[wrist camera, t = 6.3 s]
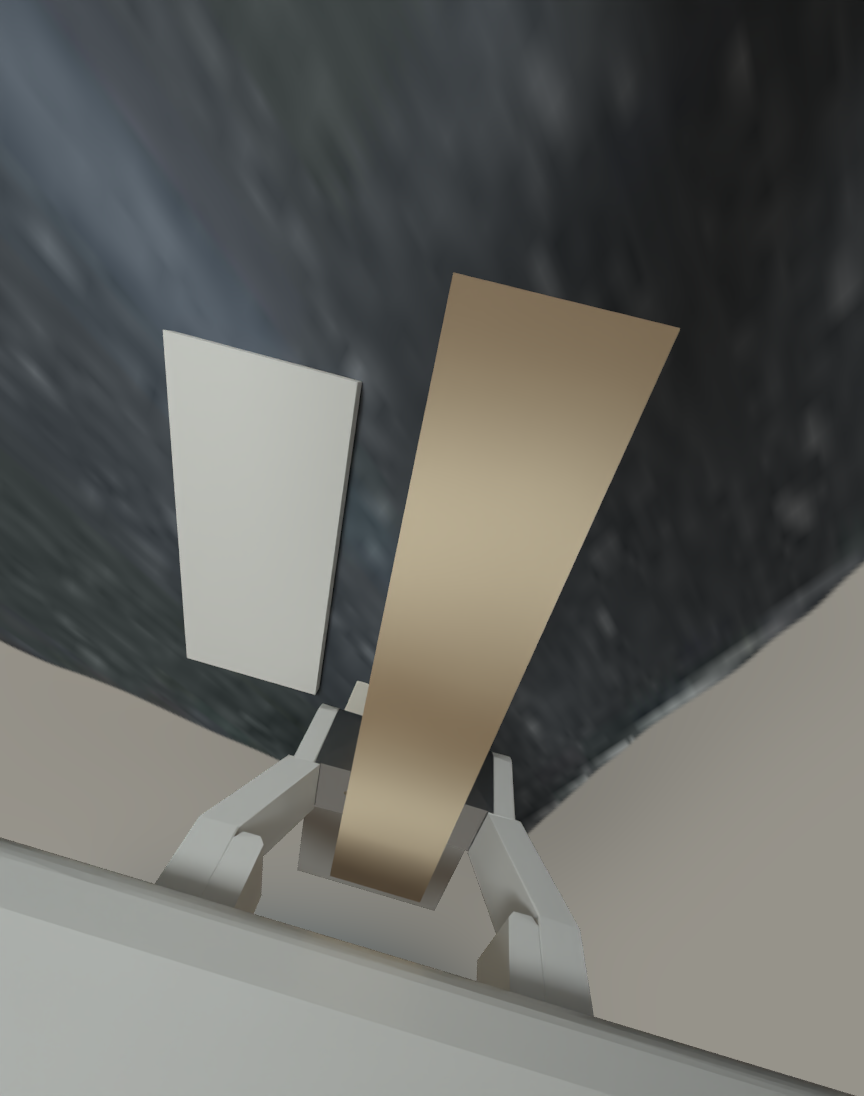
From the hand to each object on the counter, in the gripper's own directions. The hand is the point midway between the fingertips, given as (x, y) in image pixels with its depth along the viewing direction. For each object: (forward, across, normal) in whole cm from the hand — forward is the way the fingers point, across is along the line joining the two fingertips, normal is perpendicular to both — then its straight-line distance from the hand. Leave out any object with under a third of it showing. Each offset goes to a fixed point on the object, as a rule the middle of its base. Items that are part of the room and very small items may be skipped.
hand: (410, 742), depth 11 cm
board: (+15, +13, +4) cm, 20 cm away
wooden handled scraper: (+2, 0, 0) cm, 2 cm away
